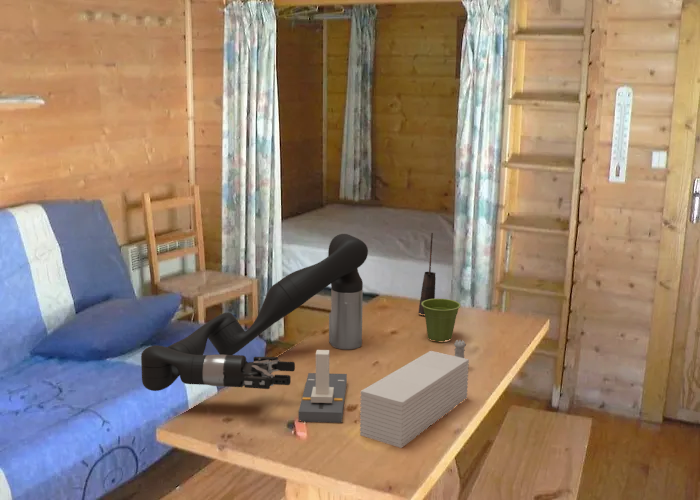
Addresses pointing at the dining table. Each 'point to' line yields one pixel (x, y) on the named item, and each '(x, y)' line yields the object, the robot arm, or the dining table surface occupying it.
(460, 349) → the rook chess piece
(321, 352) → the fader tab
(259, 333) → the robot arm
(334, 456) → the dining table surface
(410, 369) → the stack of papers
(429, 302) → the plant pot
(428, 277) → the butter churn
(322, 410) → the fader console
